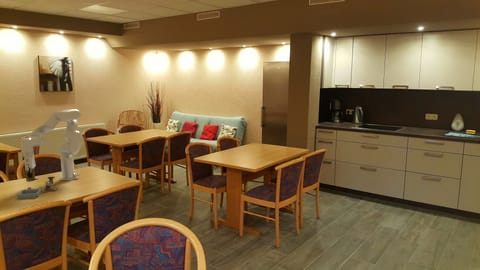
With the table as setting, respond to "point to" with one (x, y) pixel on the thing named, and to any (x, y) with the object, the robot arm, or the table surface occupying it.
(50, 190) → the crank base
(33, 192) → the tray
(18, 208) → the table surface
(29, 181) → the condiment
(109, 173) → the table surface
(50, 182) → the crank
